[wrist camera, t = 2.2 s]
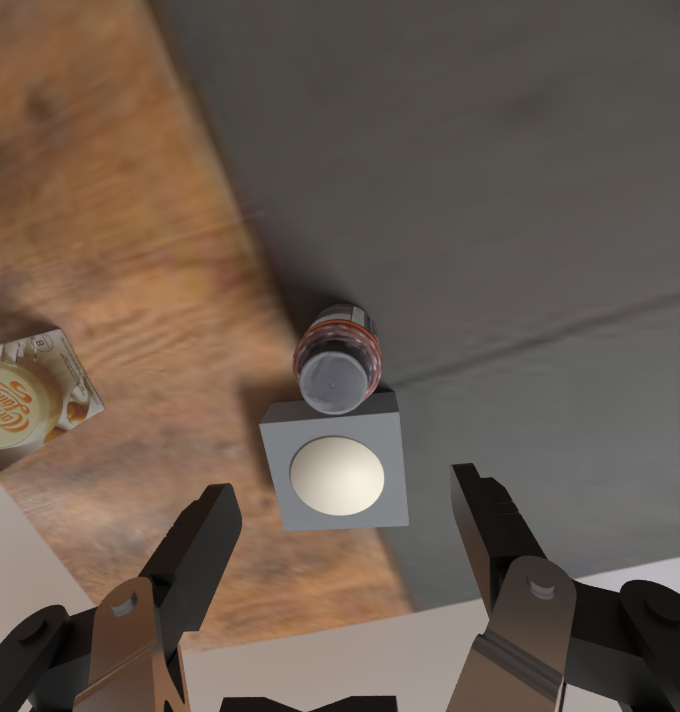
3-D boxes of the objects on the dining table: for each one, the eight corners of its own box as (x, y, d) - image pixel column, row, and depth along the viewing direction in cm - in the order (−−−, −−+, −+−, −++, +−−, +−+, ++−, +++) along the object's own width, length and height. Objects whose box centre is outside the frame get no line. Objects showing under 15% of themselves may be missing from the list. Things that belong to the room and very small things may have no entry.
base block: (271, 402, 32) (258, 425, 28) (394, 391, 31) (399, 413, 27) (293, 501, 36) (284, 533, 32) (404, 494, 34) (409, 527, 30)
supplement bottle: (376, 366, 30) (383, 434, 19) (312, 365, 30) (284, 430, 20) (378, 301, 28) (387, 336, 17) (310, 301, 28) (277, 335, 18)
